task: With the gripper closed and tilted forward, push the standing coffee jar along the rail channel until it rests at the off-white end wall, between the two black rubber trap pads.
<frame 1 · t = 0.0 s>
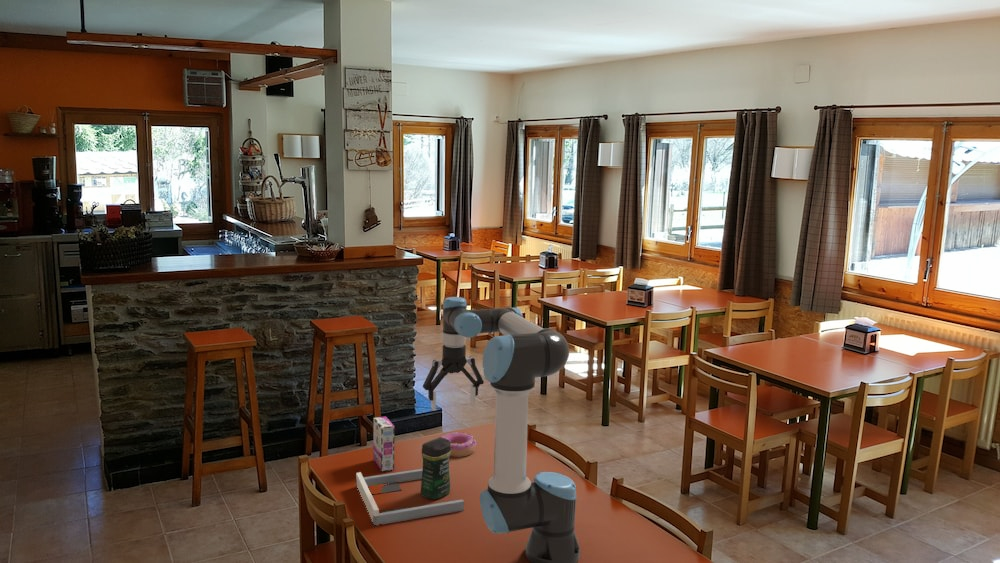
hand: (453, 407, 238), 28 cm above the table, tool pointing down, fingers open, 13 cm apart
trap pads: (391, 500, 232), on the table
coffee jar: (435, 494, 238), on the table
candy bar box: (383, 465, 259), on the table
donut: (457, 451, 273), on the table
channel: (412, 497, 235), on the table
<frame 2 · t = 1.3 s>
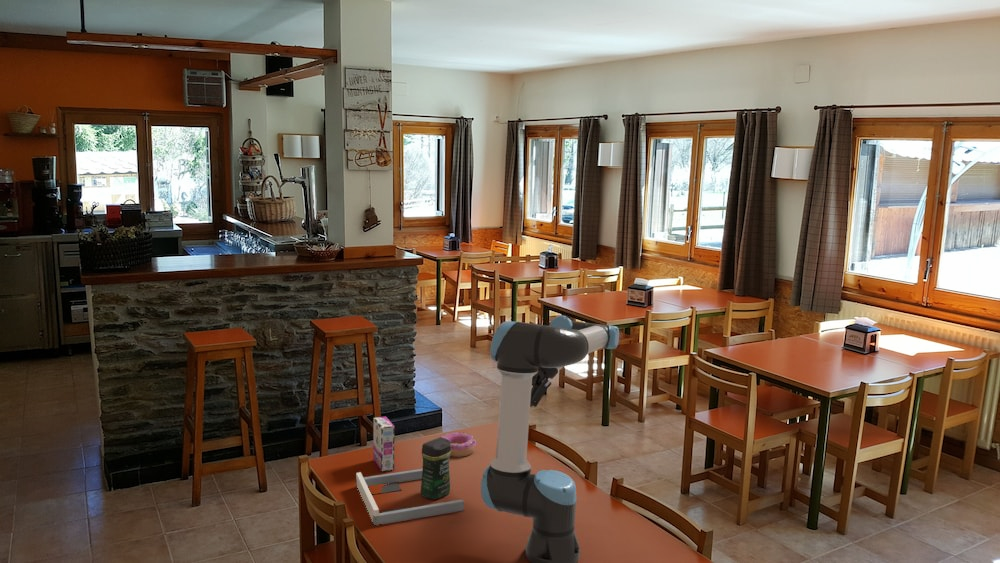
hand: (507, 412, 243), 25 cm above the table, tool tilted 45°, fingers open, 10 cm apart
nothing on the table moved.
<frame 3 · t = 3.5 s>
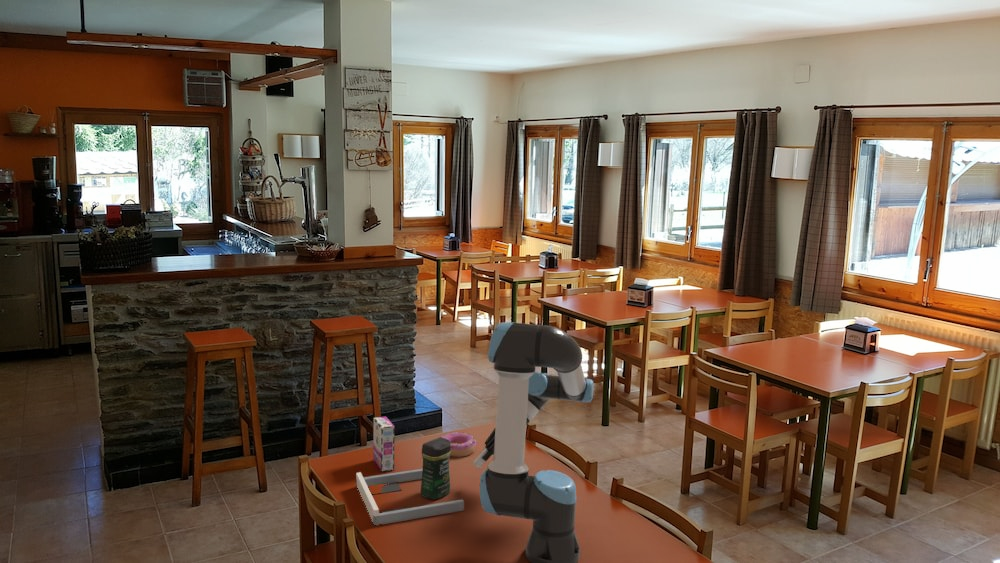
hand: (475, 465, 243), 7 cm above the table, tool tilted 45°, fingers closed
nothing on the table moved.
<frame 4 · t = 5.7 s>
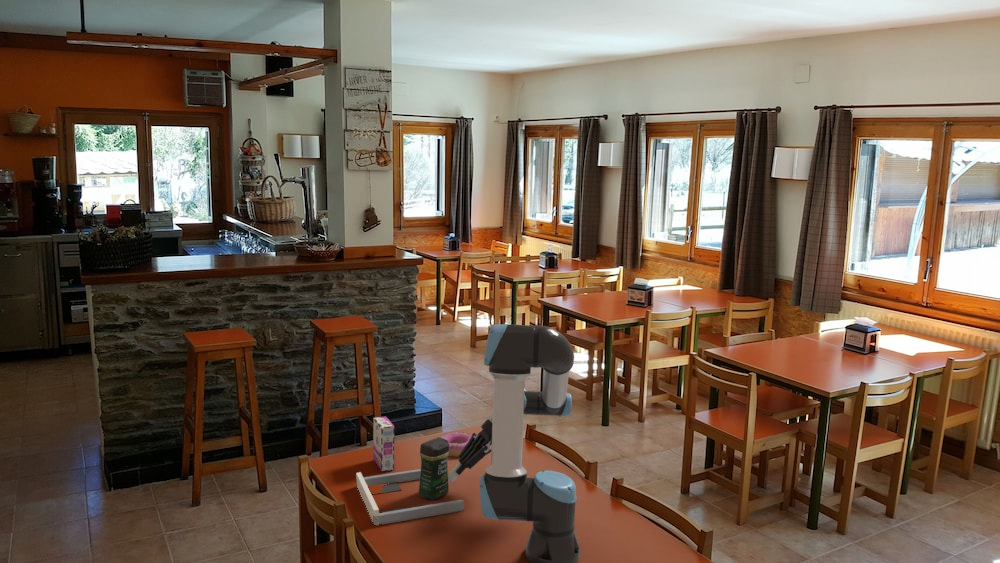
hand: (449, 479, 240), 4 cm above the table, tool tilted 45°, fingers closed
coffee jar: (434, 494, 238), on the table, touching gripper
everything else where it was.
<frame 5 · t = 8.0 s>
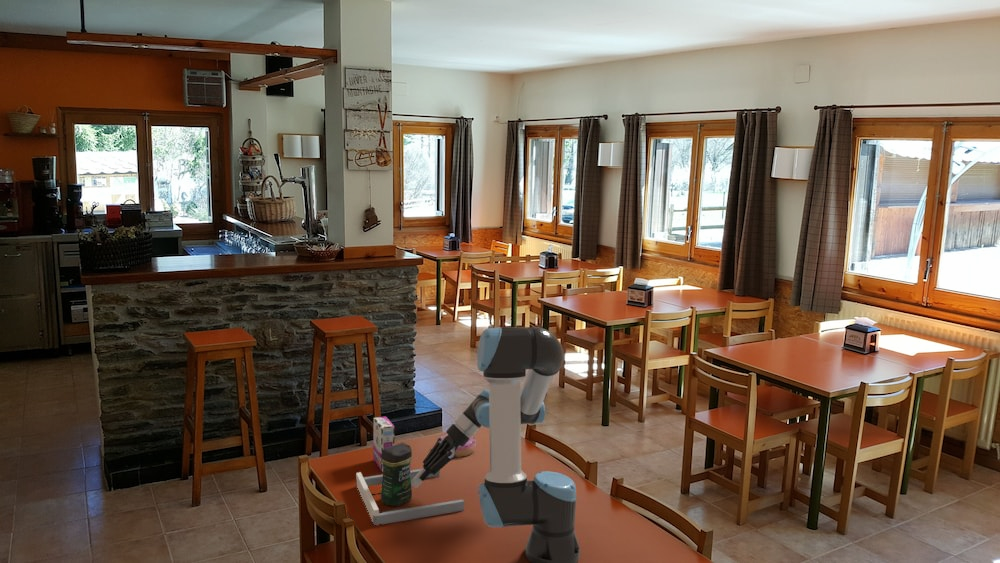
hand: (412, 485, 235), 4 cm above the table, tool tilted 45°, fingers closed
coffee jar: (396, 501, 233), on the table, touching gripper
everything else where it was.
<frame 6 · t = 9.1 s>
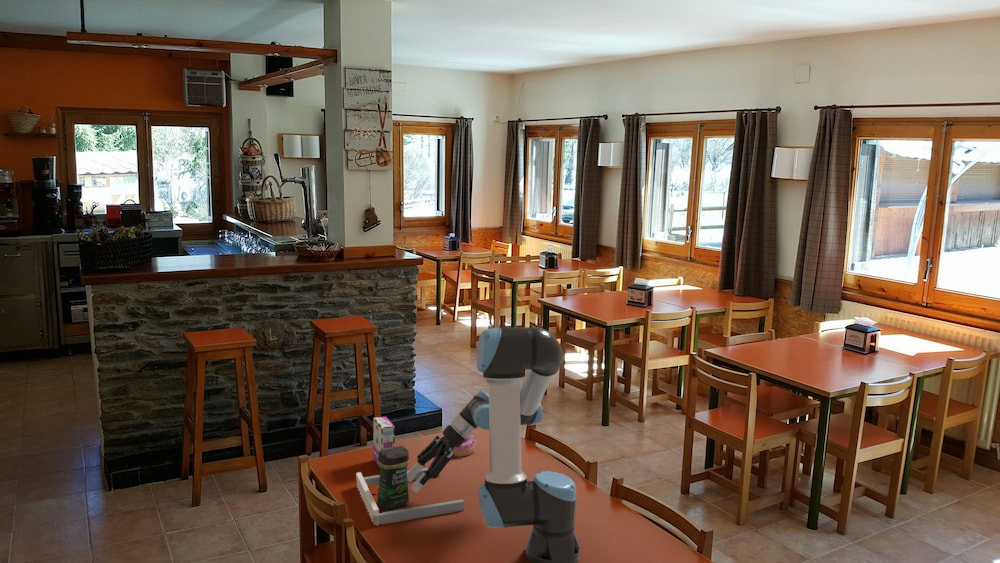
hand: (410, 484, 234), 5 cm above the table, tool tilted 45°, fingers open, 7 cm apart
coffee jar: (393, 504, 231), on the table
everything else where it was.
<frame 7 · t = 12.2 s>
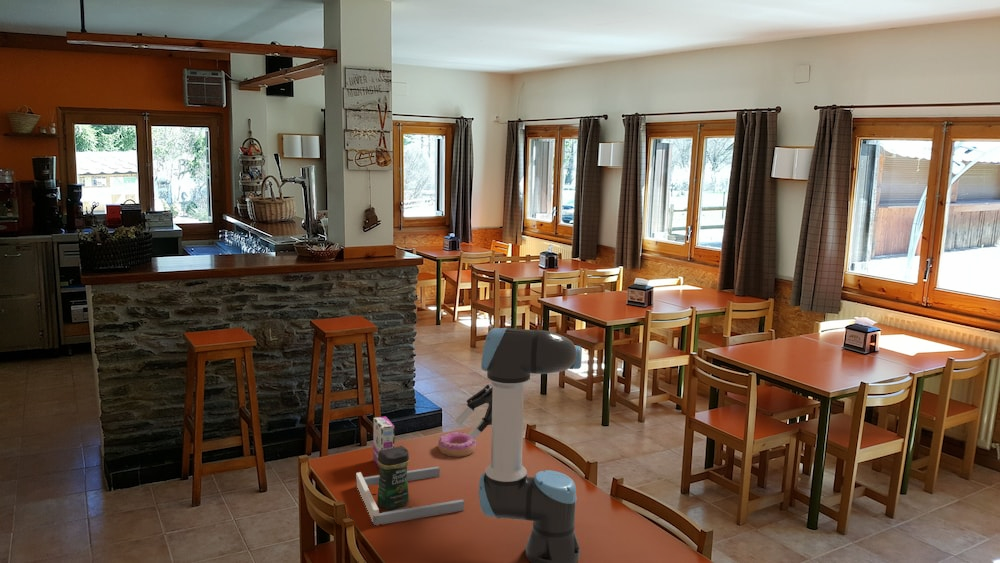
hand: (463, 430, 238), 21 cm above the table, tool tilted 45°, fingers open, 13 cm apart
nothing on the table moved.
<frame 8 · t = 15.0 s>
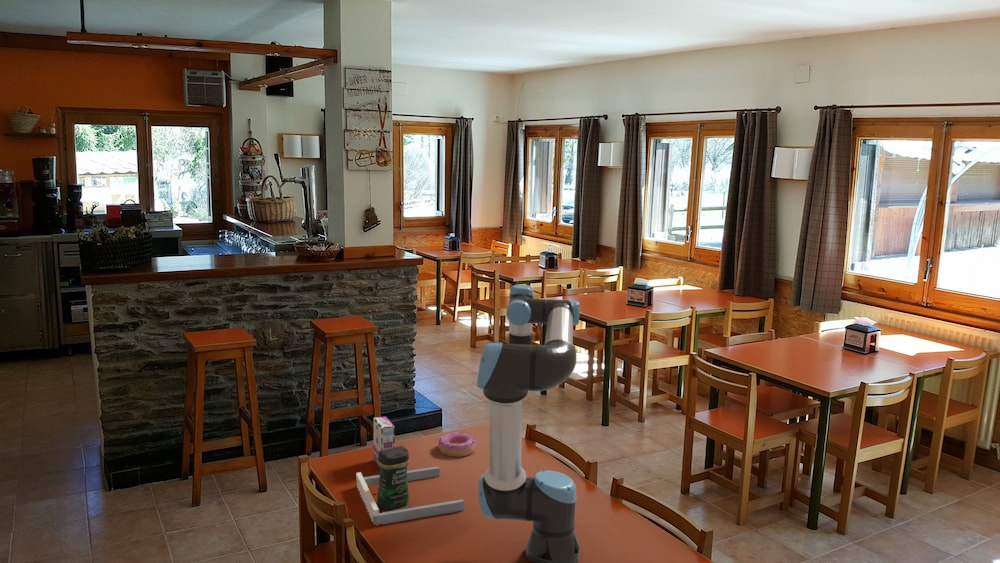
hand: (518, 396, 236), 33 cm above the table, tool pointing down, fingers open, 13 cm apart
nothing on the table moved.
at the end: coffee jar inside the target area (1.9 cm from its centre), on the table; coffee jar tilted 0° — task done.
